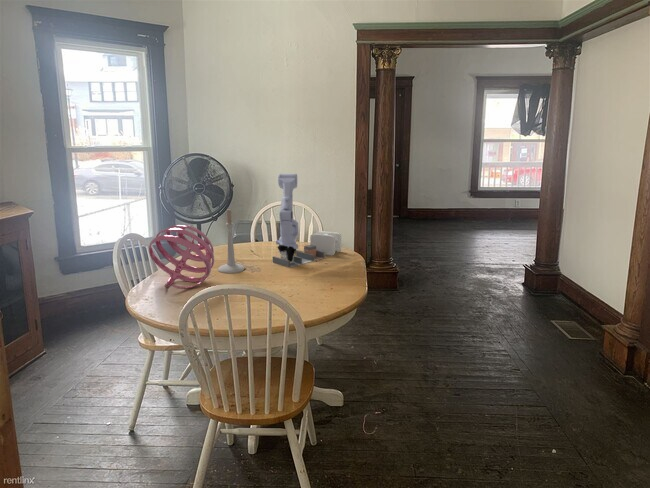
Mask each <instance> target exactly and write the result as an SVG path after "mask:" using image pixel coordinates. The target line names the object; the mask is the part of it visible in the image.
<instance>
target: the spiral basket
mask: <svg viewBox="0 0 650 488" xmlns="http://www.w3.org/2000/svg"><path fill="white" fill-rule="evenodd" d="M186 229H187V230H186ZM189 230H191V231H192V232H191V231H189ZM172 232H173V233H174V232H175V233H177V236H176V235H172ZM193 232H195V233H197V234H198V235H199V236H201V237H203V238H204V239H202V238H201V237H199V236H198V235H197V234H195V233H193ZM163 233H165V234H163ZM162 234H163V235H162ZM186 236H188V238H189V237H190V238H191V239H192V240H191V241H190V240H189V239H188V238H187V237H186ZM161 241H166V243H168V245H169V246H170V247H171V249H172V250H173V251H175V252H176V253H177V254H179V255H180V256H181V259H180V260H178V259H176V258H175V257H174V256H172V255H171V254H170V253H168V251H167V250H166V249H165V248H164V246H163V245H162V242H161ZM195 241H196V242H197V243H195ZM153 244H155V246H156V249H157V250H158V252H159V254H161V255H162V256H163V258H164V259H166V260H167V261H168V262H170V263H171V264H172V265H174V266H175V269H172V268H169V267H168V266H166V265H165V264H164V263H163V262H162V261H161V260H159V258H158V257H157V256H156V254H155V252H154V250H153ZM177 244H179V245H181V246H183V247H185V248H187V249H185V250H184V249H183V248H181V247H180V246H179V245H177ZM191 251H192V252H193V253H195V254H193V253H192V252H191ZM203 251H205V253H204V252H203ZM214 251H215V250H214V246H213V244H212V242H211V240H210V239H209V238H208V237H207V235H206V234H205V233H204V232H202V231H201V229H198V228H196V227H194V226H190V225H187V224H185V225H184V224H175V225H171V226H169V227H166V228H164V229H162V230H160V231H159V232H158V233H157V234H156V235H155V237H154V238H153V239H152V240H151V241H150V243H149V245H148V252H149V257H150V258H151V259H152V261H153V263H154V264H156V265H157V266H158V267H159V268H160V269H161V270H162V271H163V272H165V273H166V274H168V275H169V279H168V281H167V282H166V283H165V284H164V287H165V288H169V287H170V286H172V288H175V289H179V290H190V289H193V288H196V287H198V286H199V285H201V284H202V283H203V282H204V281H205V280H206V279H207V278H208V277H209V276H210V274H211V271H212V269H213V267H214V265H215V253H214ZM188 260H191V261H195V262H201V263H202V262H203V263H204V265H205V266H202V267H197V266H193V265H188V264H187V261H188ZM182 271H186V272H191V273H197V274H200V273H201V274H202V273H204V274H203V276H202V277H192V276H191V277H190V276H186V275H185V274H184V275H183V274H181V272H182ZM176 280H181V281H184V282H188V281H189V282H190V283H195V284H193V285H190V286H179V285H176V284H173V283H175V281H176Z"/></svg>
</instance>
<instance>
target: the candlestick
mask: <svg viewBox="0 0 650 488" xmlns="http://www.w3.org/2000/svg"><path fill="white" fill-rule="evenodd" d="M226 217H227V218H226V219H227V222H226V223H225V225H226V227H227V229H228V230H227V263H225V264H222V265H221V266H218V268H217V271H218V272H219V273H222V274H237V273H241V272H243V271H245V270H246V267H244V265H243V264H240V263H236V258H235V249H234V240H233V230H232V229H233V225H234V223H233V222H232V220H233V219H232V209H230V208H227V209H226Z"/></svg>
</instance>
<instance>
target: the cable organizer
mask: <svg viewBox="0 0 650 488" xmlns="http://www.w3.org/2000/svg"><path fill="white" fill-rule="evenodd" d="M309 241H310V242H309V243H310V244H309V245H315V246H316V250H318V251H322V252H324V256H334V255H335V253H341V251H342V234H341V233H339V232H336V231H335V232H334V231H327V230H326V231H324V230H319V231H316V233H312V234H311V235H310V240H309Z"/></svg>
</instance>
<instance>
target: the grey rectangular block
mask: <svg viewBox="0 0 650 488" xmlns="http://www.w3.org/2000/svg"><path fill="white" fill-rule="evenodd" d="M294 256H295V255H294ZM294 256H293V259H292V261H290V263H294ZM280 258H282V259H285V260H288V255H287V251H286V250H284V251H281V254H280Z"/></svg>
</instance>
